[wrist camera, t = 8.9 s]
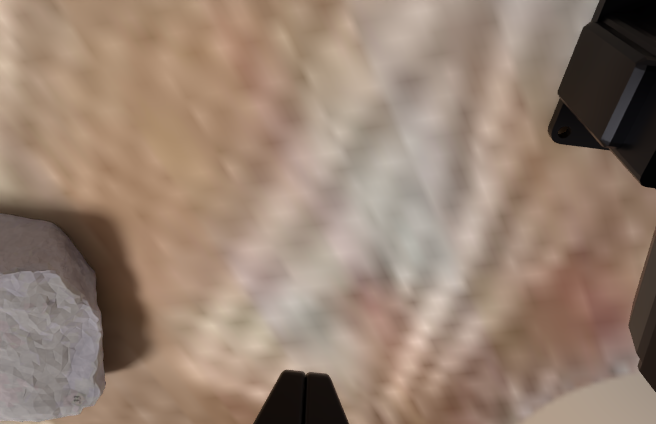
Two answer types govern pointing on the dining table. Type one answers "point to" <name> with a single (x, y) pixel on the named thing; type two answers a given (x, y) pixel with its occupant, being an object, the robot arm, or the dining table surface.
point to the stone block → (46, 324)
